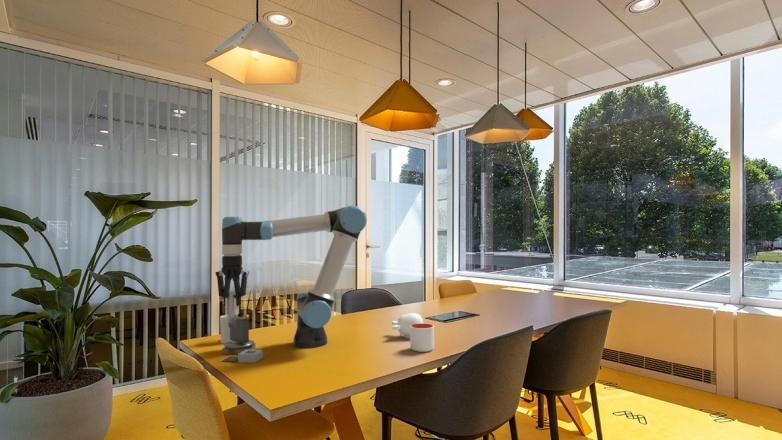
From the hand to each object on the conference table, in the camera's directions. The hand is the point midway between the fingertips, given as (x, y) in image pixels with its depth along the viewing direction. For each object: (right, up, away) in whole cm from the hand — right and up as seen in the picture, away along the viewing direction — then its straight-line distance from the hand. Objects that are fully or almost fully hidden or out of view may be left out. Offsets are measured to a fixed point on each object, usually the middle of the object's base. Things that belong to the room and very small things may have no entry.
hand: (232, 313), depth 173 cm
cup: (+77, -18, +11) cm, 80 cm away
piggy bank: (+71, -18, +33) cm, 80 cm away
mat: (0, -18, 0) cm, 18 cm away
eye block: (+7, -18, 0) cm, 20 cm away
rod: (0, -5, 0) cm, 5 cm away
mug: (-13, -19, +29) cm, 37 cm away
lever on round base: (-2, -16, +13) cm, 21 cm away
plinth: (-2, -19, +13) cm, 23 cm away
